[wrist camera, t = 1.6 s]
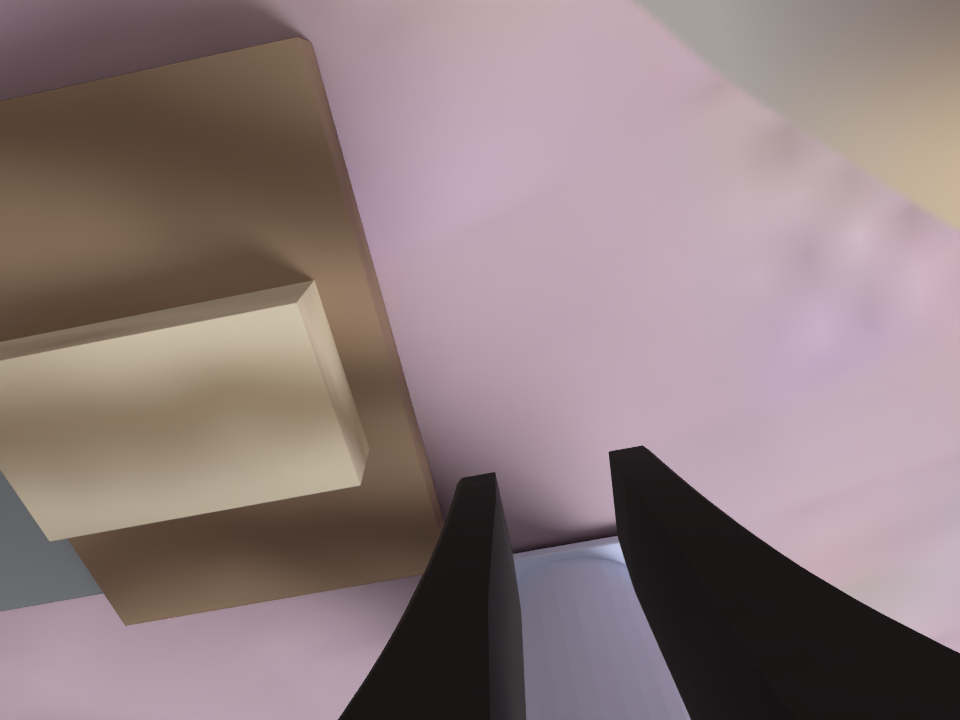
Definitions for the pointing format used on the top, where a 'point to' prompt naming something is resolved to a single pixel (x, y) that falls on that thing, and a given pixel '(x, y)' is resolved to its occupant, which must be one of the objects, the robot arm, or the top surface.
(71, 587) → the charcoal mat
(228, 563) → the walnut board
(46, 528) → the birch block
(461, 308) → the top surface
